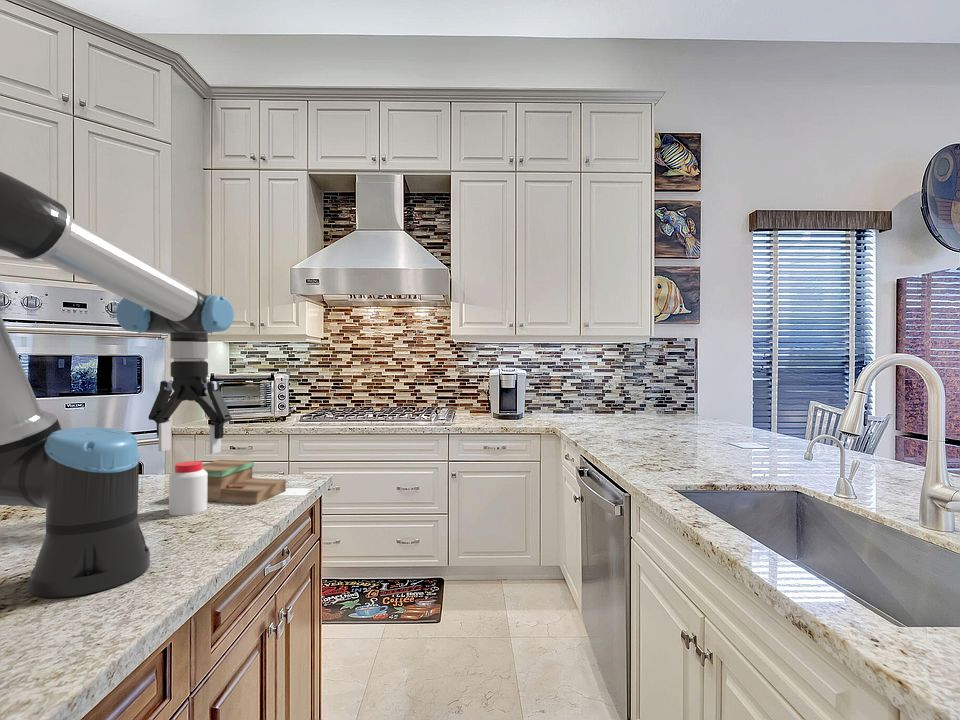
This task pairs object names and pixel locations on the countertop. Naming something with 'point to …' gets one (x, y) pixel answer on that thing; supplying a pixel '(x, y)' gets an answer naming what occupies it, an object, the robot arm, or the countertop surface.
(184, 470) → the pill bottle
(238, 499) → the stand
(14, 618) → the countertop surface
